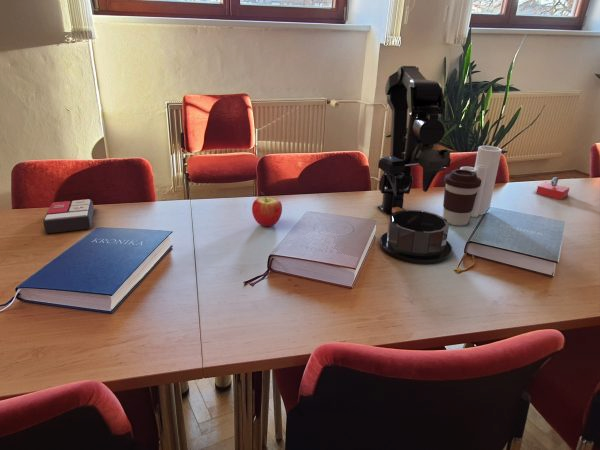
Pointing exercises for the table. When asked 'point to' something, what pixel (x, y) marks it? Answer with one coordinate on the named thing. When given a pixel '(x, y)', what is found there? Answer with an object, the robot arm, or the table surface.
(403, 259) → the turntable
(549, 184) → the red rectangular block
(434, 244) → the bowl
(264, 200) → the apple
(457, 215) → the coffee cup
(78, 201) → the grey labelled box
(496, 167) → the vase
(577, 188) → the table surface
